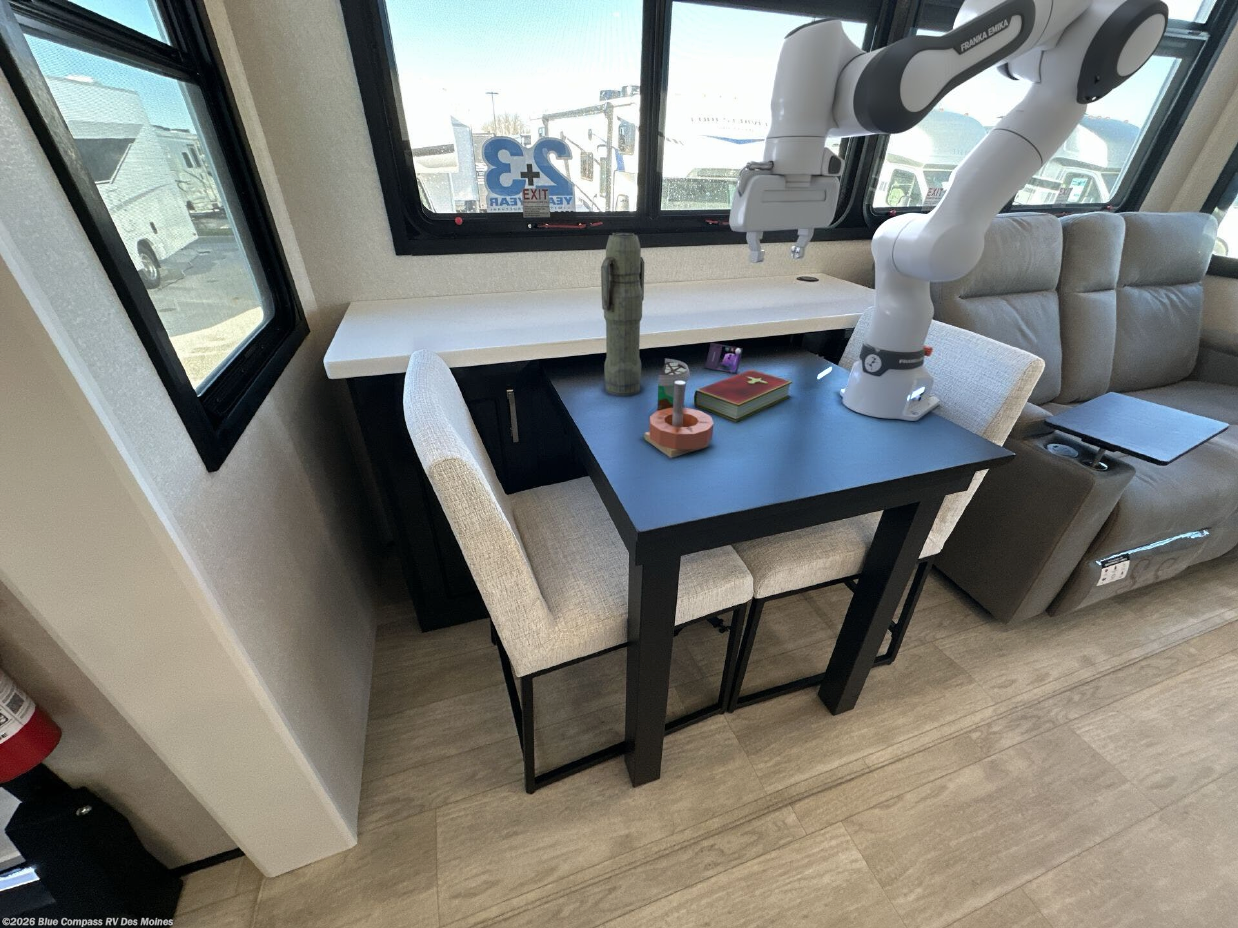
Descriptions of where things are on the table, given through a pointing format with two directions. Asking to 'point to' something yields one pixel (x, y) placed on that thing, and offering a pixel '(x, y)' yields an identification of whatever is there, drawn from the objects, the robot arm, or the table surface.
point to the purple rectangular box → (728, 359)
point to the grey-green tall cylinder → (622, 312)
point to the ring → (681, 429)
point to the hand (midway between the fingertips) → (776, 260)
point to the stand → (675, 421)
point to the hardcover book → (742, 394)
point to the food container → (670, 381)
